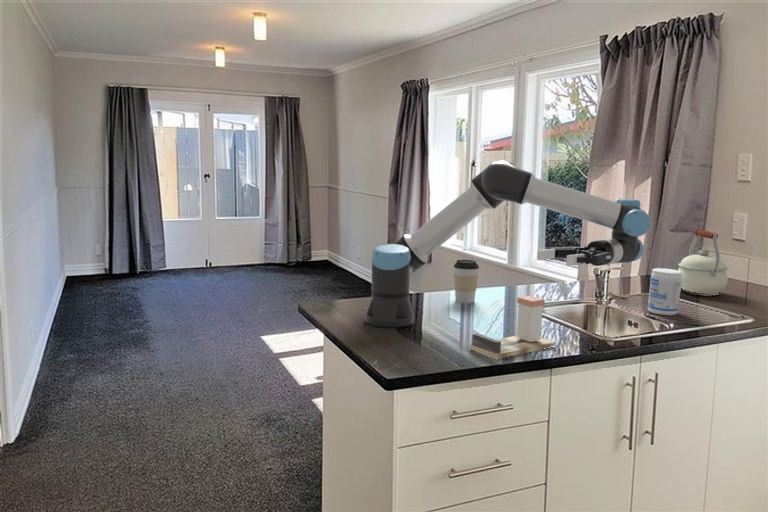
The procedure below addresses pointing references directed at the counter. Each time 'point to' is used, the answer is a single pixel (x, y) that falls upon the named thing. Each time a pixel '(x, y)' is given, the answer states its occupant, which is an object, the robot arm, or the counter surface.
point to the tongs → (615, 295)
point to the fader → (529, 318)
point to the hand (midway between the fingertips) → (552, 257)
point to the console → (506, 346)
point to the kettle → (703, 268)
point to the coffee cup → (465, 280)
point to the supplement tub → (664, 291)
